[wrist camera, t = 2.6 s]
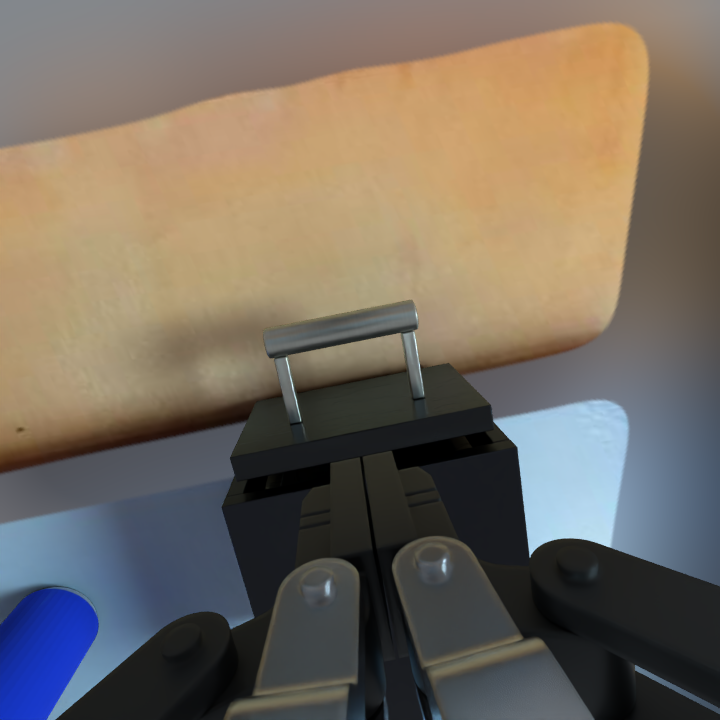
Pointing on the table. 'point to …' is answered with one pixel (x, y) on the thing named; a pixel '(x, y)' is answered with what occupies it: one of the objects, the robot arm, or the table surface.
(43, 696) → the beverage can
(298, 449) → the drawer
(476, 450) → the black drawer cabinet
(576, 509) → the table surface
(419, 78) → the table surface
